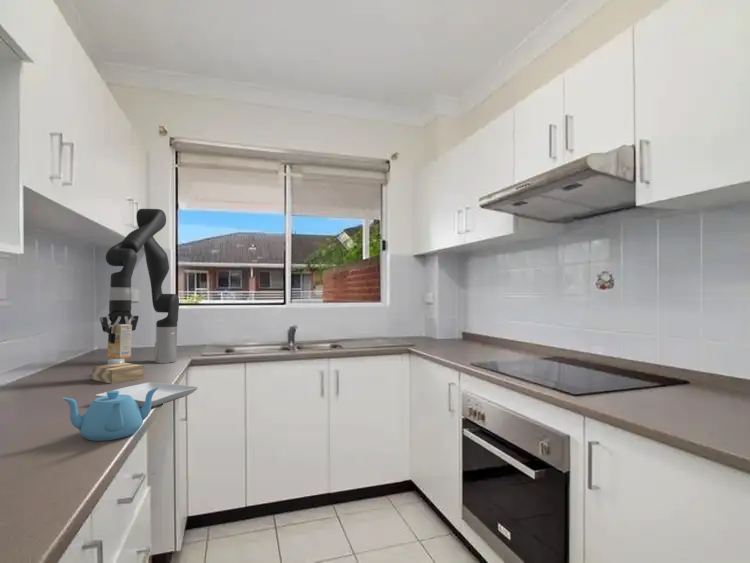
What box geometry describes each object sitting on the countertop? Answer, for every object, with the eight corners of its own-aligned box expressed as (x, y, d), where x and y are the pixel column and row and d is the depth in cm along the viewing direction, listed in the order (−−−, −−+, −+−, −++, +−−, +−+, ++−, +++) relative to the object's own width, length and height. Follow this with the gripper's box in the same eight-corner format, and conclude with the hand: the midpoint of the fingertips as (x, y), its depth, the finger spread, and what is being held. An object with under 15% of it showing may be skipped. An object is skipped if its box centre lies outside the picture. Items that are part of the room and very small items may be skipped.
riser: (92, 379, 166) (92, 366, 166) (123, 374, 176) (124, 362, 176) (111, 383, 159) (112, 370, 159) (143, 378, 169) (143, 365, 169)
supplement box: (106, 357, 168) (107, 323, 168) (118, 355, 172) (119, 323, 172) (119, 359, 164) (120, 324, 164) (131, 357, 168) (132, 324, 168)
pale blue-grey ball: (104, 374, 176) (104, 359, 176) (119, 372, 181) (119, 358, 182) (112, 376, 173) (112, 361, 173) (127, 373, 178) (127, 359, 179)
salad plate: (199, 395, 143) (199, 385, 143) (149, 412, 123) (150, 400, 123) (148, 391, 149) (148, 381, 149) (92, 406, 129) (93, 394, 129)
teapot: (110, 423, 112) (111, 383, 112) (161, 426, 109) (162, 386, 109) (59, 442, 97) (60, 396, 98) (116, 446, 95) (117, 400, 95)
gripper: (133, 298, 176) (132, 340, 176) (95, 299, 164) (94, 343, 164) (143, 299, 173) (142, 341, 172) (106, 299, 160) (105, 344, 160)
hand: (119, 342), depth 168 cm, fingers closed on supplement box, 5 cm apart
